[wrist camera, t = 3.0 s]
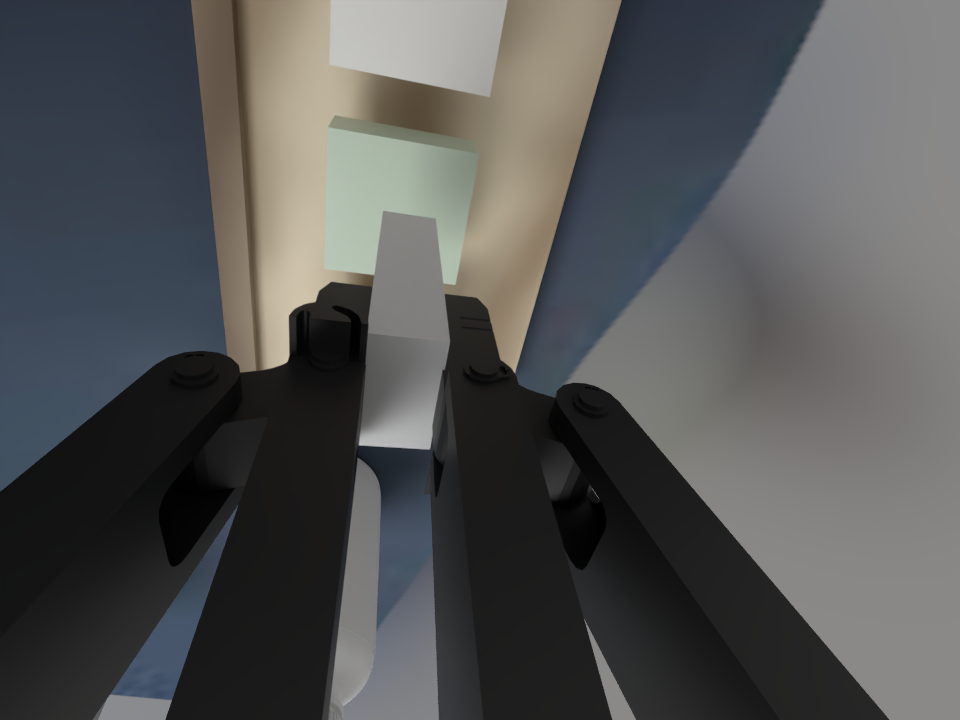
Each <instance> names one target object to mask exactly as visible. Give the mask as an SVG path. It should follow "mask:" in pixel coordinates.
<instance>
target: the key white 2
mask: <svg viewBox="0 0 960 720" xmlns="http://www.w3.org/2000/svg"><path fill="white" fill-rule="evenodd" d="M506 6H507V0H331V9H330V52H329V65H333V66H338V67H343V68H348V69H353V70H358V71H363V72H368V73H373V74H378V75H383V76H388V77H393V78H398V79H402V80H407V81H412V82H417V83H422V84H427V85H432V86H437V87H442V88H447V89H452V90H457V91H462V92H467V93H472V94H477V95H482V96H487V97H490V93H491V88H492V82H493V77H494V72H495V66H496V61H497V55H498V50H499V44H500V39H501V33H502V28H503V22H504V17H505V11H506Z"/></svg>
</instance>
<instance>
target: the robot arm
mask: <svg viewBox="0 0 960 720" xmlns="http://www.w3.org/2000/svg"><path fill="white" fill-rule="evenodd" d="M432 435H433V454H432V459H431V464H430V469H429V475H428V480H427V485H426V490H425V494H430V493H431V516H432V543H433V570H434V596H435V624H436V649H437V650H436V651H437V677H438V704H439V720H612V718H611V714H610V710H609V707H608V703H607V700H606V696H605V692H604V689H603V686H602V682H601V678H600V675H599V671H598V667H597V664H596V660H595V657H594V653H593V649H592V646H591V642H590V639H589V635H588V632H587V628H586V624H585V621H586V623H587V625H588V627H589V629H590V631H591V632H592V634H593V636H594V638H595V640H596V642H597V644H598V646H599V648H600V650H601V652H602V654H603V656H604V658H605V660H606V662H607V664H608V666H609V668H610V669H611V671H612V673H613V675H614V677H615V679H616V681H617V683H618V685H619V687H620V689H621V691H622V693H623V695H624V697H625V699H626V701H627V703H628V704H629V706H630V708H631V710H632V712H633V714H634V716H635V718H636V720H889V719H888V718H887V716H886V715H885V714H884V713H883V712H882V710H881V709H880V708H879V707H878V706H877V705H876V703H875V702H874V701H873V700H872V699H871V698H870V697H869V695H868V694H867V693H866V692H865V691H864V689H863V688H862V687H861V686H860V685H859V683H858V682H857V681H856V680H855V679H854V678H853V676H852V675H851V674H850V673H849V672H848V671H847V670H846V668H845V667H844V666H843V665H842V663H841V662H840V661H839V660H838V659H837V658H836V657H835V656H834V654H833V653H832V652H831V650H830V649H829V648H828V647H827V646H826V645H825V644H824V642H823V641H822V640H821V639H820V638H819V636H818V635H817V634H816V633H815V632H814V631H813V629H812V628H811V627H810V626H809V625H808V623H807V622H806V621H805V620H804V619H803V618H802V616H801V615H800V614H799V613H798V612H797V610H795V608H794V607H793V606H792V605H791V604H790V602H789V601H788V600H787V599H786V598H785V596H784V595H783V594H782V593H781V592H780V590H779V589H778V588H777V587H776V586H775V585H774V583H773V582H772V581H771V580H770V579H769V578H768V576H767V575H766V574H765V573H764V572H763V570H762V569H761V568H760V567H759V566H758V565H757V563H756V562H755V561H754V560H753V559H752V558H751V556H750V555H749V554H748V553H747V552H746V551H745V549H744V548H743V547H742V546H741V545H740V544H739V543H738V541H737V540H736V539H735V538H734V536H733V535H732V534H731V533H730V532H729V530H728V529H727V528H726V527H725V526H724V525H723V523H722V522H721V521H720V520H719V519H718V518H717V516H716V515H715V514H714V513H713V512H712V511H711V509H710V508H709V507H708V506H707V505H706V503H705V502H704V501H703V500H702V499H701V498H700V496H699V495H698V494H697V493H696V492H695V490H694V489H693V488H692V487H691V486H690V485H689V483H688V482H687V481H686V480H685V479H684V478H683V476H682V475H681V474H680V473H679V472H678V470H677V469H676V468H675V467H674V466H673V465H672V463H671V462H670V461H669V460H668V459H667V458H666V456H665V455H664V454H663V453H662V452H661V451H660V449H659V448H658V447H657V446H656V445H655V443H654V442H653V441H652V440H651V439H650V438H649V436H647V434H646V433H645V432H644V431H643V429H642V428H641V427H640V426H639V425H638V424H637V422H636V421H635V420H634V419H633V418H632V416H631V415H630V414H629V413H628V412H627V411H626V409H625V408H624V407H623V406H622V405H621V403H620V402H619V401H618V400H617V399H615V398H614V397H613V396H612V395H611V394H610V393H608V392H606V391H604V390H602V389H600V388H598V387H596V386H592V385H589V384H584V383H571V384H566V385H563V386H562V387H561V388H560V389H559V390H557V393H556V396H555V398H554V397H550V396H547V395H544V394H540V393H537V392H534V391H531V390H529V389H526V388H524V387H522V386H520V385H519V384H518V381H517V377H516V375H515V373H514V372H513V370H512V368H511V367H509V366H508V365H507V364H506V363H504V362H503V361H501V360H500V356H499V352H498V348H497V344H496V340H495V336H494V332H493V328H492V324H491V322H490V316H489V312H488V309H487V308H486V307H485V305H484V304H483V303H482V302H481V301H480V300H479V299H478V298H475V297H467V296H459V295H451V294H444V285H443V277H442V268H441V259H440V251H439V242H438V234H437V225H436V219H435V218H428V217H422V216H415V215H408V214H402V213H395V212H388V211H383V215H382V222H381V229H380V237H379V244H378V251H377V259H376V266H375V273H374V281H373V287H372V286H363V285H355V284H347V283H338V282H330V283H329V284H328V285H326V286H325V287H323V288H322V289H321V290H319V293H318V296H317V299H316V302H312V303H307V304H304V305H302V306H299V307H297V308H295V309H294V310H293V311H292V312H291V314H290V315H289V359H288V362H287V363H285V364H283V365H280V366H277V367H274V368H271V369H265V370H259V371H250V372H240V369H239V365H238V364H237V363H236V362H235V361H234V360H233V359H232V358H231V357H228V356H225V355H223V354H220V353H216V352H207V351H196V352H185V353H181V354H178V355H174V356H171V357H168V358H166V359H164V360H163V361H161V362H159V363H158V364H156V365H154V366H153V367H152V368H151V369H150V370H148V371H147V372H146V373H145V374H143V375H142V376H141V377H140V378H139V379H137V380H136V381H135V382H134V383H133V384H131V385H130V386H129V387H128V388H126V389H125V390H124V391H123V392H122V393H120V394H119V395H118V396H117V397H115V398H114V399H113V400H112V401H111V402H109V403H108V404H107V405H106V406H104V407H103V408H102V409H101V410H100V411H98V412H97V413H96V414H95V415H93V416H92V417H91V418H90V419H89V420H87V421H86V422H85V423H84V424H82V425H81V426H80V427H79V428H78V429H76V430H75V431H74V432H73V433H72V434H70V435H69V436H68V437H67V438H65V439H64V440H63V441H62V442H61V443H59V444H58V445H57V446H56V447H54V448H53V449H52V450H51V451H50V452H48V453H47V454H46V455H45V456H43V457H42V458H41V459H40V460H39V461H37V462H36V463H35V464H34V465H32V466H31V467H30V468H29V469H28V470H26V471H25V472H24V473H23V474H21V475H20V476H19V477H18V478H17V479H15V480H14V481H13V482H12V483H11V484H9V485H8V486H7V487H6V488H4V489H3V490H2V491H1V492H0V720H93V719H94V717H95V716H96V714H97V713H98V711H99V710H100V708H101V707H102V705H103V704H104V702H105V701H106V699H107V698H108V696H109V695H110V694H111V692H112V691H113V689H114V688H115V686H116V685H117V683H118V682H119V680H120V679H121V677H122V676H123V674H124V673H125V671H126V670H127V668H128V667H129V665H130V664H131V662H132V661H133V659H134V658H135V657H136V655H137V654H138V652H139V651H140V649H141V648H142V646H143V645H144V643H145V642H146V640H147V639H148V637H149V636H150V634H151V633H152V631H153V630H154V628H155V627H156V625H157V624H158V623H159V621H160V620H161V618H162V617H163V615H164V614H165V612H166V611H167V609H168V608H169V606H170V605H171V603H172V602H173V600H174V599H175V597H176V596H177V594H178V593H179V591H180V590H181V589H182V587H183V586H184V584H185V583H186V581H187V580H188V578H189V577H190V575H191V574H192V572H193V571H194V569H195V568H196V566H197V565H198V563H199V562H200V560H201V559H202V557H203V556H204V555H205V553H206V552H207V550H208V549H209V547H210V546H211V544H212V543H213V541H214V540H215V538H216V537H217V535H218V534H219V532H220V531H221V529H222V528H223V526H224V525H225V523H226V522H227V520H228V519H229V518H230V516H231V515H232V513H233V512H234V510H235V509H236V507H237V506H238V508H237V511H236V514H235V517H234V520H233V523H232V526H231V529H230V532H229V535H228V538H227V541H226V544H225V547H224V549H223V552H222V555H221V558H220V561H219V564H218V567H217V570H216V573H215V576H214V579H213V582H212V585H211V588H210V591H209V593H208V596H207V599H206V602H205V605H204V608H203V611H202V614H201V617H200V620H199V623H198V626H197V629H196V632H195V635H194V637H193V640H192V643H191V646H190V649H189V652H188V655H187V658H186V661H185V664H184V667H183V670H182V673H181V676H180V678H179V681H178V684H177V687H176V690H175V693H174V696H173V699H172V702H171V705H170V708H169V711H168V714H167V717H166V720H328V718H329V709H330V700H331V691H332V683H333V674H334V665H335V656H336V647H337V638H338V630H339V621H340V612H341V603H342V594H343V585H344V577H345V568H346V559H347V550H348V541H349V532H350V524H351V515H352V506H353V497H354V488H355V479H356V470H357V460H358V448H359V445H361V446H378V447H395V448H412V449H429V450H430V446H431V441H432ZM592 488H593V490H594V491H595V493H596V494H597V496H598V497H599V498H598V497H597V496H596V494H595V493H594V491H593V490H592ZM238 504H239V505H238ZM584 619H585V621H584Z"/></svg>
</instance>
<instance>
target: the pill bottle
mask: <svg viewBox="0 0 960 720" xmlns="http://www.w3.org/2000/svg"><path fill="white" fill-rule="evenodd" d="M380 513H381V493H380V485H379V482H378V479H377V477H376V475H375V473H374V472H373V470H372V469H371V468H370V467H369V466H368V465H367V464H366V463H365V462H364V461H362V460H361V459H359V458H358V460H357V470H356V479H355V488H354V497H353V506H352V515H351V524H350V532H349V541H348V550H347V559H346V568H345V577H344V585H343V594H342V603H341V612H340V621H339V630H338V638H337V647H336V656H335V665H334V674H333V683H332V691H331V700H330V709H329V718H328V720H342V718H343V705H345V704H346V703H348V702H349V701H350V700H352V699H353V698H354V697H355V696H356V695H357V694H358V693H359V692H360V691H361V690H362V688H363V687H364V685H365V684H366V682H367V680H368V678H369V676H370V673H371V670H372V667H373V664H374V658H375V645H376V619H377V592H378V566H379V540H380Z"/></svg>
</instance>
